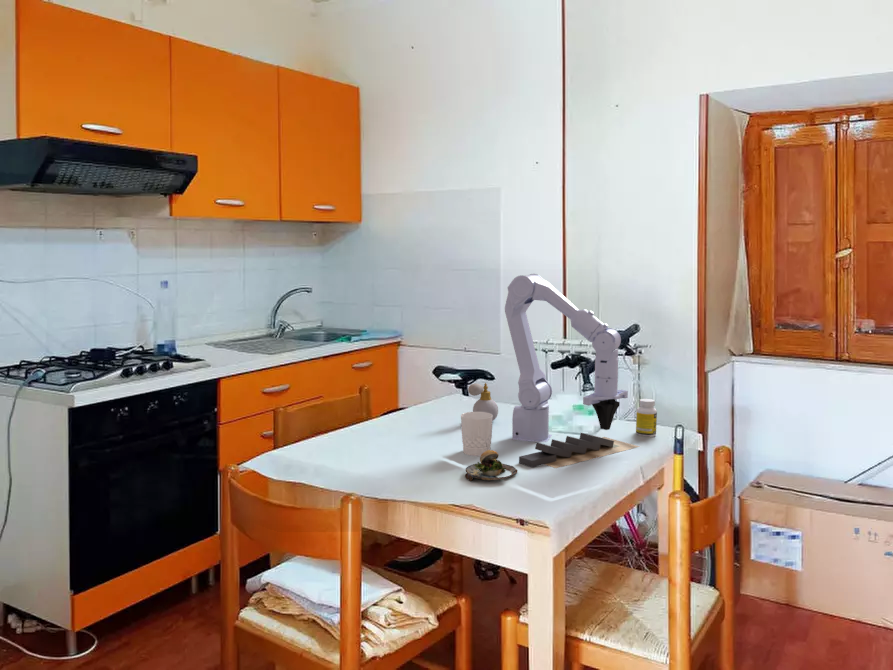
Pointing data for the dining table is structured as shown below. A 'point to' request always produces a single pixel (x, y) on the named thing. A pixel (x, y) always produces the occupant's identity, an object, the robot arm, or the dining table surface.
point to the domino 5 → (596, 439)
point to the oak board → (591, 453)
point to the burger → (488, 467)
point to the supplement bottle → (646, 418)
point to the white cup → (476, 432)
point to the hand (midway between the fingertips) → (605, 429)
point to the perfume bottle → (483, 400)
